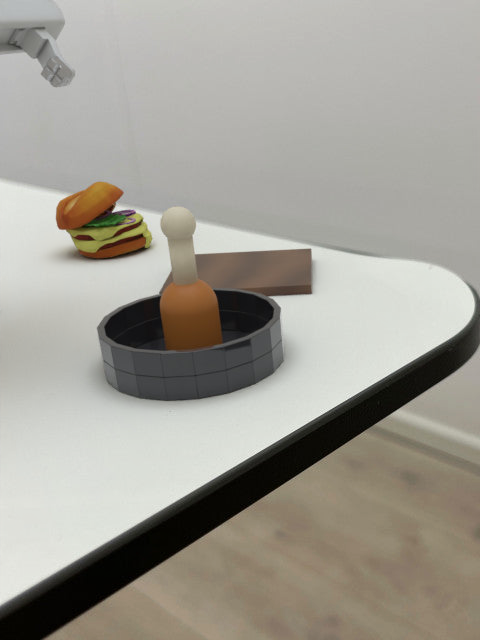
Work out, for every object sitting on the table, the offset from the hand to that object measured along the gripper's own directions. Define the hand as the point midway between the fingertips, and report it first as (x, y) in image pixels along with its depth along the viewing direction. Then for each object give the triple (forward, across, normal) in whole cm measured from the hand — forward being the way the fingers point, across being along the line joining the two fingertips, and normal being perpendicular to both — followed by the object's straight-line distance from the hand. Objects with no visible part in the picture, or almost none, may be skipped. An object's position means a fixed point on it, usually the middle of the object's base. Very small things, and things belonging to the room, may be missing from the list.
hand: (30, 86), depth 59 cm
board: (+20, +23, +13) cm, 33 cm away
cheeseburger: (+4, +33, +29) cm, 44 cm away
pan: (+24, +1, +9) cm, 25 cm away
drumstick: (+24, +1, +9) cm, 25 cm away
